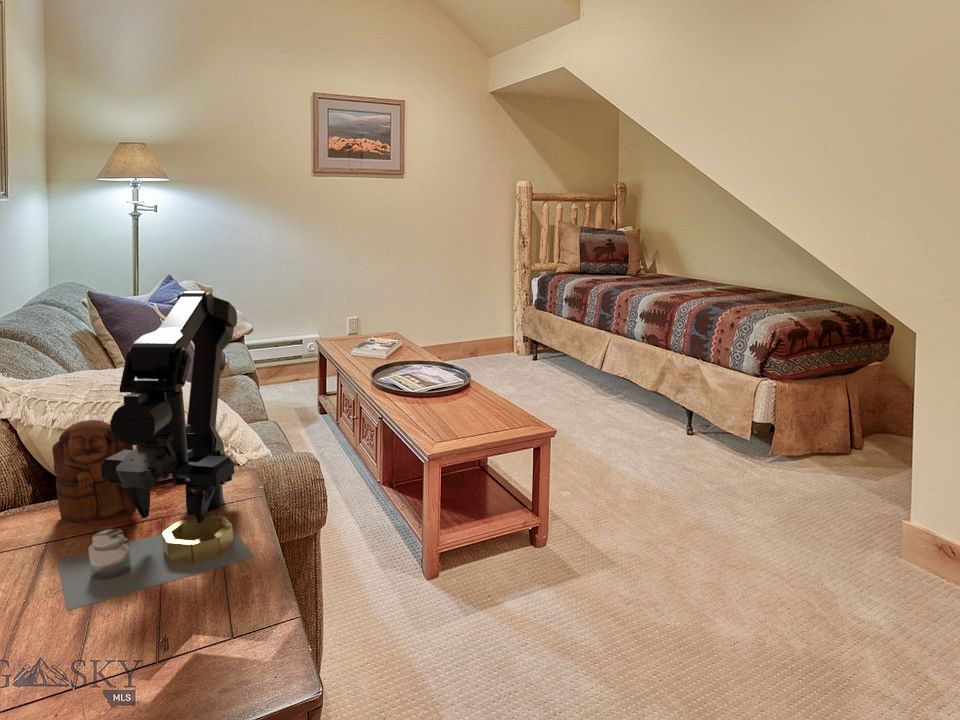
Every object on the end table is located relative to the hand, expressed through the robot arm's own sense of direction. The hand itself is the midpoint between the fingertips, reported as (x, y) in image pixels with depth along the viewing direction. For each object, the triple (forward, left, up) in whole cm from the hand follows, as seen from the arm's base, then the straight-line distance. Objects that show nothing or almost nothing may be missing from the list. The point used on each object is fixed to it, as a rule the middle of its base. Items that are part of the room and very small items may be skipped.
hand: (172, 519), depth 99 cm
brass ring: (0, +4, -4) cm, 6 cm away
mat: (+4, 0, -6) cm, 7 cm away
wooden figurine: (-8, -19, -6) cm, 22 cm away
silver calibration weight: (+9, -4, -4) cm, 10 cm away
